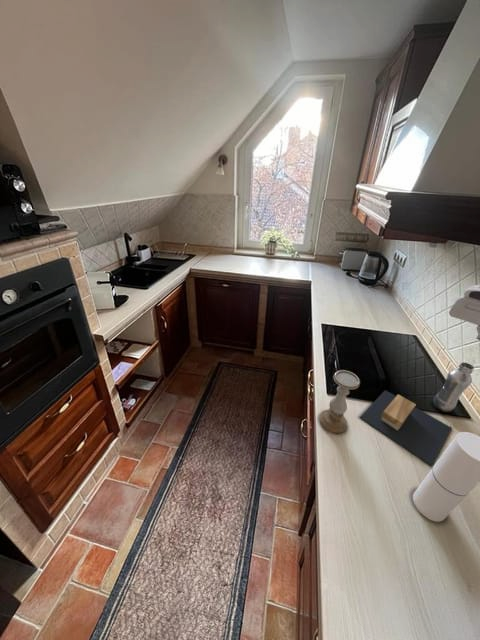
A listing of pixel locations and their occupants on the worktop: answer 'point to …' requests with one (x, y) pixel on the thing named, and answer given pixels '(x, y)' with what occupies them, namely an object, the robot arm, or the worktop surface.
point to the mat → (410, 429)
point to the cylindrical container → (450, 478)
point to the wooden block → (397, 412)
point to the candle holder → (339, 402)
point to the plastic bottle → (453, 387)
